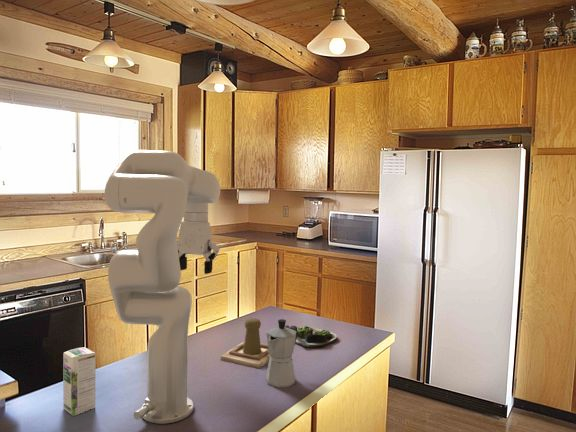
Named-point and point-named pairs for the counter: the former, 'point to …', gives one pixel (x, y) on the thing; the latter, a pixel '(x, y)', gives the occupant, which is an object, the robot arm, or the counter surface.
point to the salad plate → (314, 337)
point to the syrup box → (78, 380)
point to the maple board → (247, 356)
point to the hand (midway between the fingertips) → (195, 271)
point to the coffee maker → (281, 355)
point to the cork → (252, 337)
